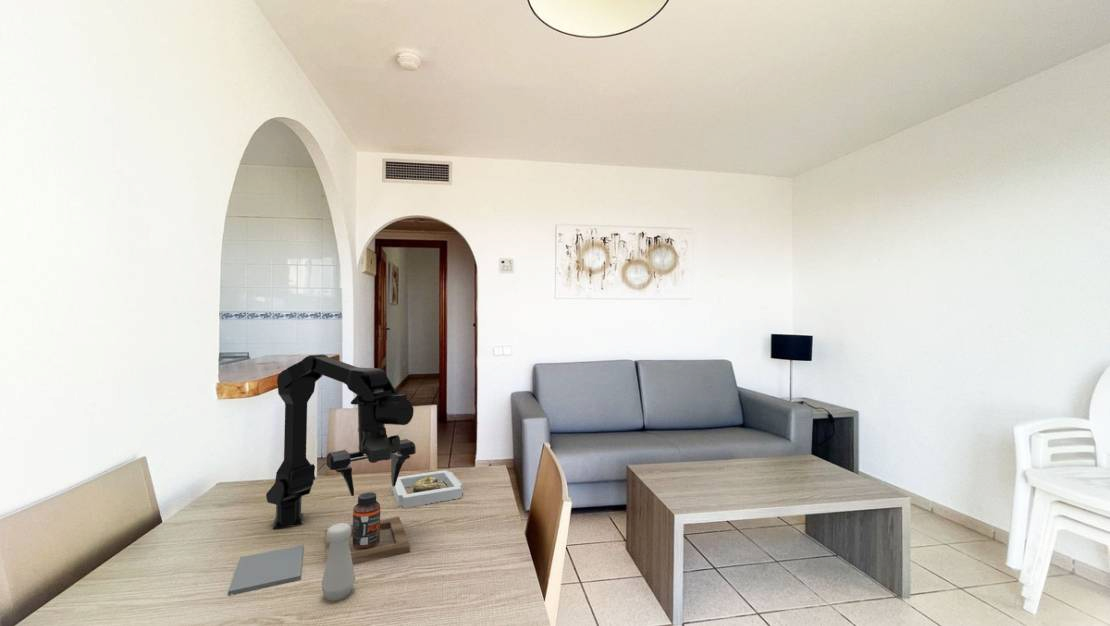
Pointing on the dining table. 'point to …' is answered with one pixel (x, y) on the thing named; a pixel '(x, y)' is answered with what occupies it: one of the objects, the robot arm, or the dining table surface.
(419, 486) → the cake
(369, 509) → the supplement bottle
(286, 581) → the grey flat slab
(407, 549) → the frame
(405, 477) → the grey bread rim
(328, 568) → the salt shaker
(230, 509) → the dining table surface
